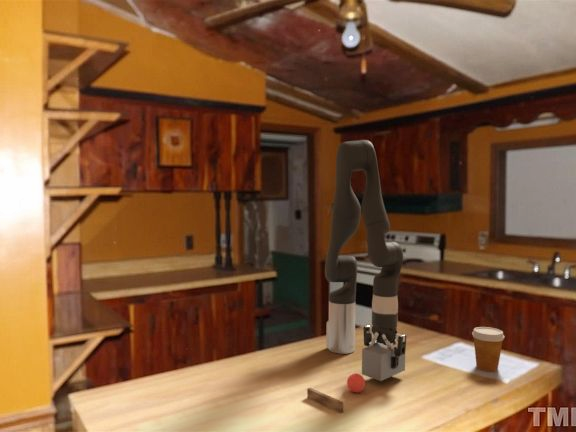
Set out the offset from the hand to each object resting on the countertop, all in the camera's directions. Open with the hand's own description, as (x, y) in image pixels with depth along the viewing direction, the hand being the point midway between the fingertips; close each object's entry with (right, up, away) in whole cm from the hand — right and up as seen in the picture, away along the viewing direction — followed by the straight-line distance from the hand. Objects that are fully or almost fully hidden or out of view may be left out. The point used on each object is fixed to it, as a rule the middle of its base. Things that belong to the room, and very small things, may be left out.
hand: (383, 364), depth 144 cm
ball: (-9, -2, -9) cm, 13 cm away
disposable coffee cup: (+35, -4, +10) cm, 37 cm away
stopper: (-19, -5, -17) cm, 26 cm away
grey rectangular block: (0, -2, 0) cm, 2 cm away
